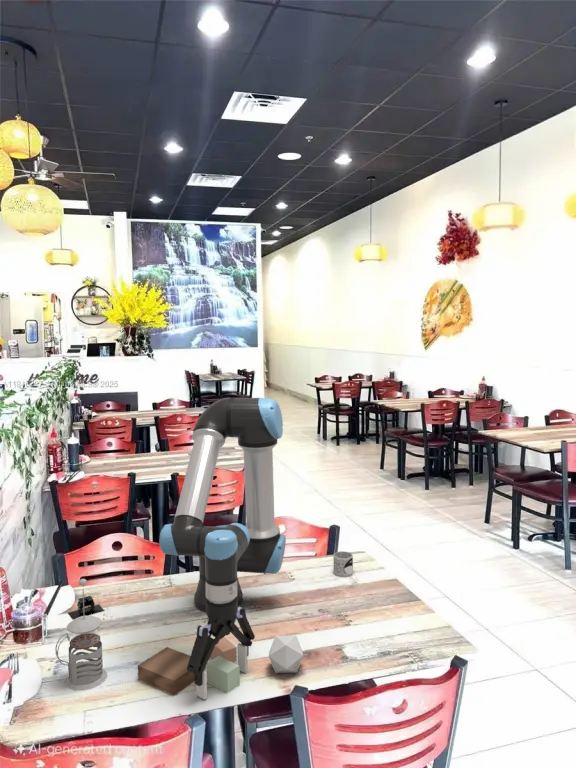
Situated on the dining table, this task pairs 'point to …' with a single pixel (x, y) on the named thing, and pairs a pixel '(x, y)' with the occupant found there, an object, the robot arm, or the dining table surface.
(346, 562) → the mug
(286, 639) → the die
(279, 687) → the dining table surface
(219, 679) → the sage brick
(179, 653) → the walnut slab
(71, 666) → the french press
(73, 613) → the black angular piece
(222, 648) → the terracotta brick
